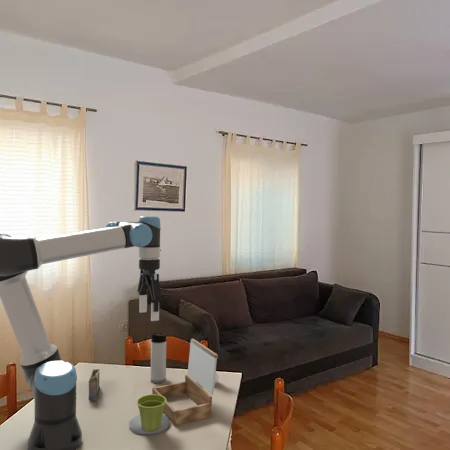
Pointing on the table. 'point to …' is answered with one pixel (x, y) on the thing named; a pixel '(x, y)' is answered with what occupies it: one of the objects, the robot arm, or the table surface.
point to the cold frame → (193, 393)
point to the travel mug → (158, 357)
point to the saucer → (137, 428)
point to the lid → (202, 365)
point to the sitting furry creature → (215, 379)
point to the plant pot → (151, 411)
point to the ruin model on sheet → (94, 384)
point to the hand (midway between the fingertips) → (148, 316)
